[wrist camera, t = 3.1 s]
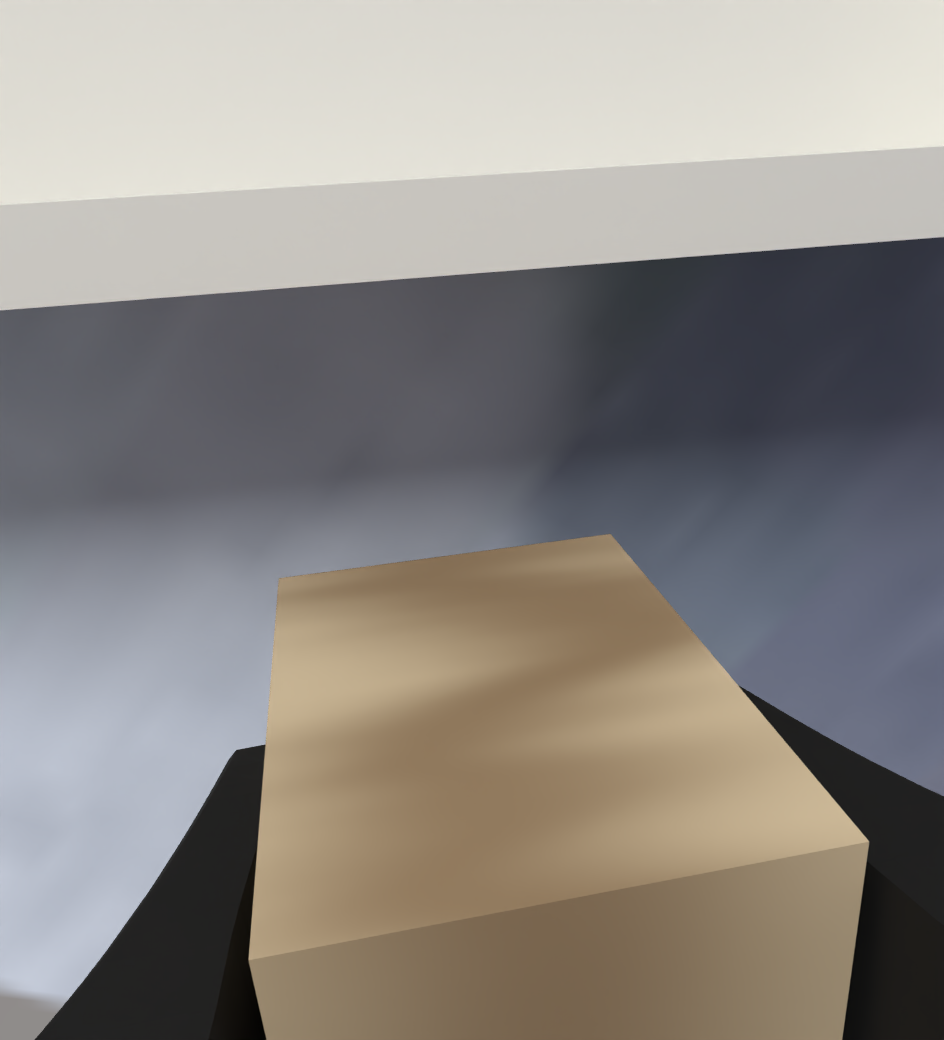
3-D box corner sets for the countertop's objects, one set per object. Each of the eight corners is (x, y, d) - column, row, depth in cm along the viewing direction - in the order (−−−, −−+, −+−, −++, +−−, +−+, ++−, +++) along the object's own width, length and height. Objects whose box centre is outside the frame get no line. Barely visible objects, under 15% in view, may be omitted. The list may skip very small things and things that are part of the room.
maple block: (610, 533, 12) (868, 841, 6) (612, 796, 14) (818, 1218, 8) (278, 578, 11) (247, 960, 6) (324, 847, 13) (334, 1339, 7)
